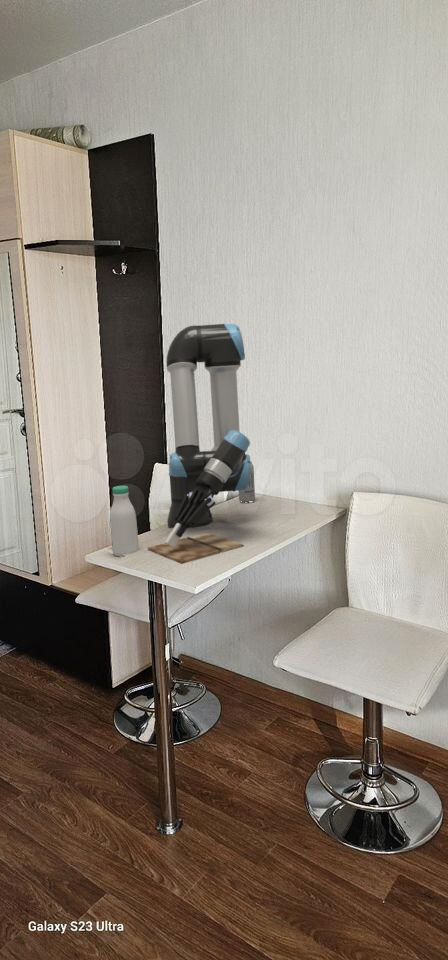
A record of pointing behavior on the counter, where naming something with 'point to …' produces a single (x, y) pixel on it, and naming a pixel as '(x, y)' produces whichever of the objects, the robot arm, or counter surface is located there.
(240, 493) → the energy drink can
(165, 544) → the board
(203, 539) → the laid floorboards
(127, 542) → the milk bottle
